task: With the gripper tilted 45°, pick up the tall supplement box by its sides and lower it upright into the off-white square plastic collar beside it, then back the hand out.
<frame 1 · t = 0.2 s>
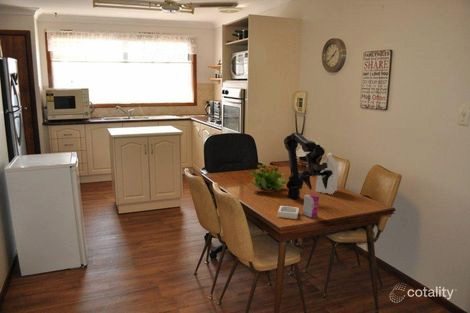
hand: (318, 189, 202), 14 cm above the table, tool tilted 35°, fingers open, 9 cm apart
supplement box: (310, 216, 202), on the table
milk: (326, 191, 251), on the table
potted flower: (266, 190, 247), on the table
collar: (288, 214, 202), on the table
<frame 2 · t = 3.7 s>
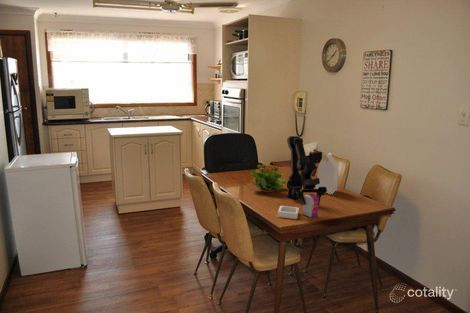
hand: (311, 204, 199), 7 cm above the table, tool tilted 45°, fingers closed on supplement box, 7 cm apart
supplement box: (310, 215, 202), on the table, touching gripper
everything else where it was.
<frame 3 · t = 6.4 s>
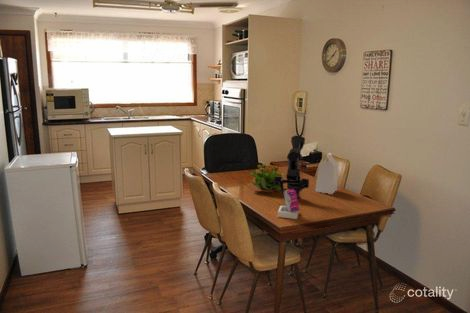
hand: (289, 195, 198), 11 cm above the table, tool tilted 45°, fingers closed on supplement box, 7 cm apart
supplement box: (293, 210, 201), point 3 cm above the table, touching collar, gripper
everything else where it was.
when the fingers open (9 cm above the table, at t = 8.2 s): supplement box drops 3 cm, resting in collar.
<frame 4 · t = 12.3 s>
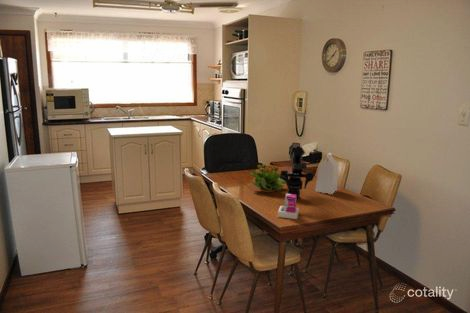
hand: (296, 188, 209), 13 cm above the table, tool tilted 45°, fingers open, 9 cm apart
supplement box: (289, 215, 201), resting in collar
everything else where it was.
at the end: supplement box 0.9 cm off-centre on the collar, point 0.0 cm above the collar's base; supplement box tilted 0°; the gripper is holding nothing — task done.
